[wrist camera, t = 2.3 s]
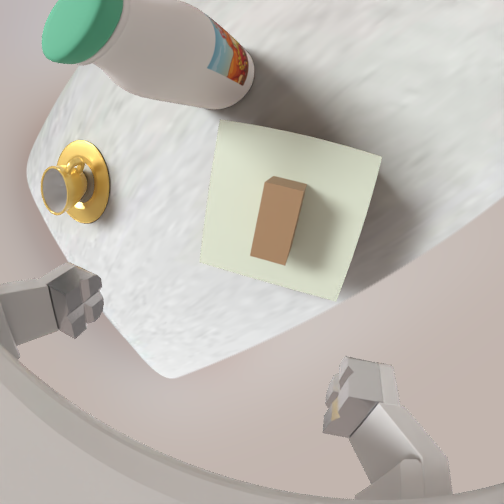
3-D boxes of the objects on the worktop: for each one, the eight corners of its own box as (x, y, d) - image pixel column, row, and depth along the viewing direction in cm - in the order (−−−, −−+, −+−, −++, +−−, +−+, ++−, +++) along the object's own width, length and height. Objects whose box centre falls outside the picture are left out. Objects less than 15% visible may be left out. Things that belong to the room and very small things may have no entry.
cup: (88, 238, 38) (63, 251, 33) (49, 182, 36) (23, 191, 31) (125, 181, 33) (96, 190, 28) (79, 122, 31) (50, 125, 26)
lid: (379, 155, 18) (391, 160, 15) (336, 293, 23) (335, 323, 19) (225, 120, 20) (203, 117, 16) (205, 256, 25) (183, 278, 21)
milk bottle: (243, 118, 26) (96, 98, 8) (177, 102, 27) (11, 93, 9) (265, 49, 23) (160, -63, 5) (197, 38, 24) (53, -29, 6)
